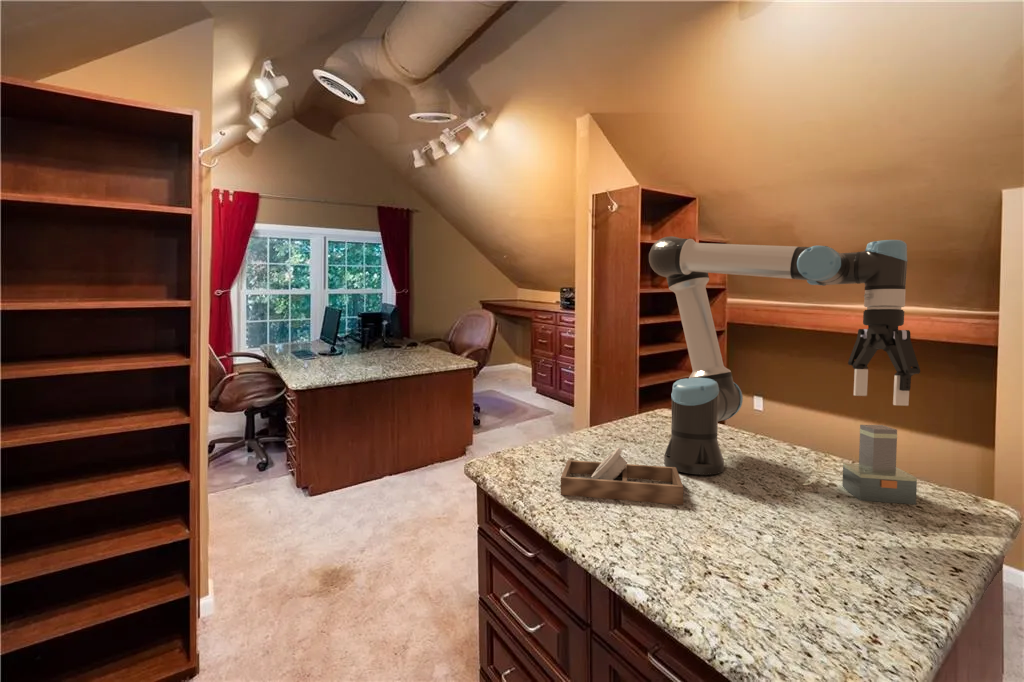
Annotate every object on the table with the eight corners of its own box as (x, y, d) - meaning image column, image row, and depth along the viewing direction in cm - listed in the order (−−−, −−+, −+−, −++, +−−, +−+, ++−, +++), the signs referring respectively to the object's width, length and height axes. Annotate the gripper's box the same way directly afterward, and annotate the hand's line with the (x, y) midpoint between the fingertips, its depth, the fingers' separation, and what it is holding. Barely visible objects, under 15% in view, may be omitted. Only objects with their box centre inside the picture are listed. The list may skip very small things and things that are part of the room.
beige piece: (587, 477, 123) (612, 449, 126) (600, 490, 122) (625, 461, 125) (594, 474, 114) (621, 444, 116) (608, 488, 113) (635, 457, 115)
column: (858, 466, 116) (860, 424, 116) (880, 466, 116) (882, 425, 116) (872, 472, 111) (874, 429, 111) (895, 473, 111) (897, 429, 111)
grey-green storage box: (860, 500, 110) (861, 474, 110) (842, 487, 119) (843, 463, 119) (917, 505, 107) (918, 478, 107) (893, 490, 117) (894, 466, 116)
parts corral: (560, 494, 113) (560, 477, 112) (567, 475, 127) (567, 460, 127) (683, 504, 107) (683, 487, 106) (675, 483, 121) (675, 467, 121)
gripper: (834, 309, 125) (830, 391, 125) (907, 307, 100) (901, 409, 101) (864, 309, 124) (861, 392, 125) (945, 307, 99) (940, 410, 100)
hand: (879, 400), depth 113 cm, fingers open, 13 cm apart
